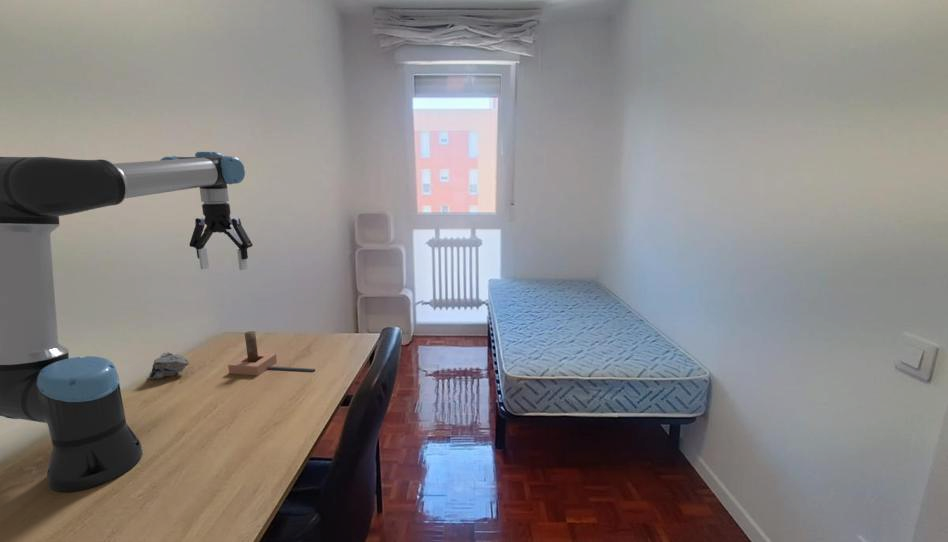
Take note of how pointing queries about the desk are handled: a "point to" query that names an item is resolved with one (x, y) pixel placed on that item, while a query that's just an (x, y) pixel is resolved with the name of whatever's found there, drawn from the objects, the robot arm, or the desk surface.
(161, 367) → the mineral specimen
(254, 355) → the dowel
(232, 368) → the pink square frame
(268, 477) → the desk surface
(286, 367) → the strip
